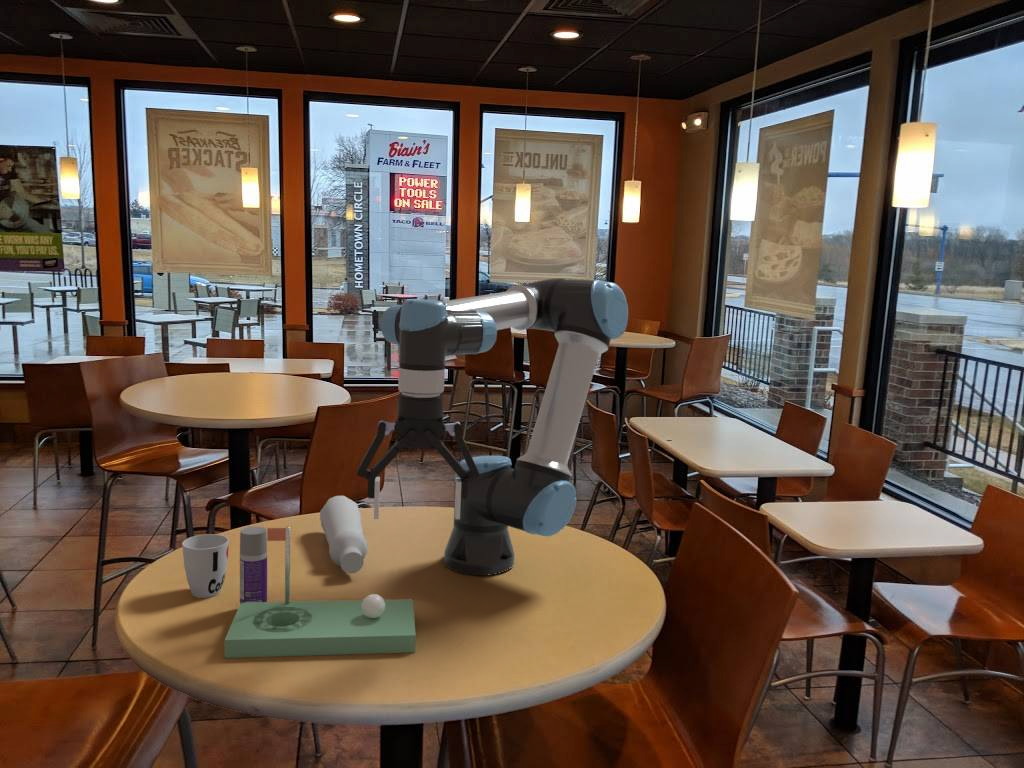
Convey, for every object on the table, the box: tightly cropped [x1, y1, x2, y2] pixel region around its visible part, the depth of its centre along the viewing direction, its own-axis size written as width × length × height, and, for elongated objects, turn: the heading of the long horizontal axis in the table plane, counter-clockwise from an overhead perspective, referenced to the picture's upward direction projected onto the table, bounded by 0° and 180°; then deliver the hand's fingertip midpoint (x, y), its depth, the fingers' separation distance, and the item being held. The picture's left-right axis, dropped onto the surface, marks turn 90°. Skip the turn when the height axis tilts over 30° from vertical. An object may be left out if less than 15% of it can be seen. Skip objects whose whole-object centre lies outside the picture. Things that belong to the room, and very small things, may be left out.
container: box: [239, 525, 268, 604], centre depth 141 cm, size 5×5×15 cm
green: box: [224, 598, 417, 659], centre depth 134 cm, size 30×14×3 cm, turn 99°
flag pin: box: [266, 525, 291, 605], centre depth 138 cm, size 4×1×14 cm, turn 99°
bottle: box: [319, 495, 369, 574], centre depth 172 cm, size 9×9×30 cm
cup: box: [181, 533, 230, 599], centre depth 148 cm, size 8×8×10 cm
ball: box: [362, 593, 385, 618], centre depth 135 cm, size 4×4×4 cm
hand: (417, 516), depth 134 cm, fingers open, 13 cm apart
